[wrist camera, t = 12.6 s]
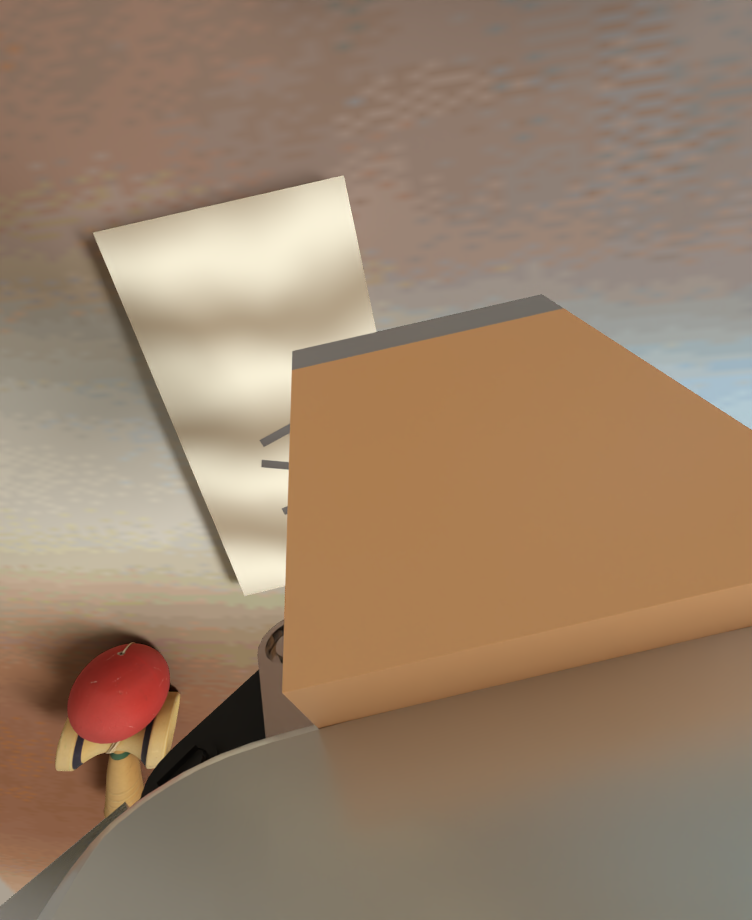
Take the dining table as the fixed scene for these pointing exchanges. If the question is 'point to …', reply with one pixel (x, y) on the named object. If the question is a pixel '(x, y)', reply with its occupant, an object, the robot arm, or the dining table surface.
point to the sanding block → (499, 510)
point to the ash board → (241, 341)
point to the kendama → (120, 719)
